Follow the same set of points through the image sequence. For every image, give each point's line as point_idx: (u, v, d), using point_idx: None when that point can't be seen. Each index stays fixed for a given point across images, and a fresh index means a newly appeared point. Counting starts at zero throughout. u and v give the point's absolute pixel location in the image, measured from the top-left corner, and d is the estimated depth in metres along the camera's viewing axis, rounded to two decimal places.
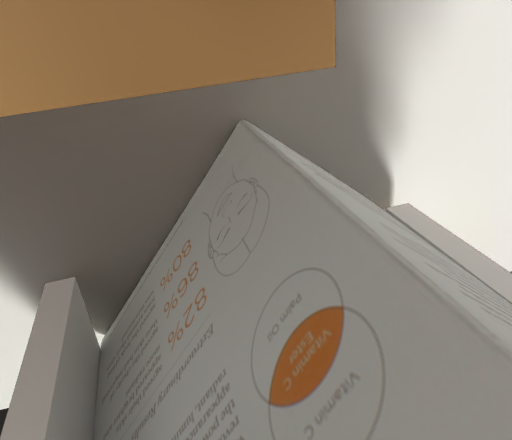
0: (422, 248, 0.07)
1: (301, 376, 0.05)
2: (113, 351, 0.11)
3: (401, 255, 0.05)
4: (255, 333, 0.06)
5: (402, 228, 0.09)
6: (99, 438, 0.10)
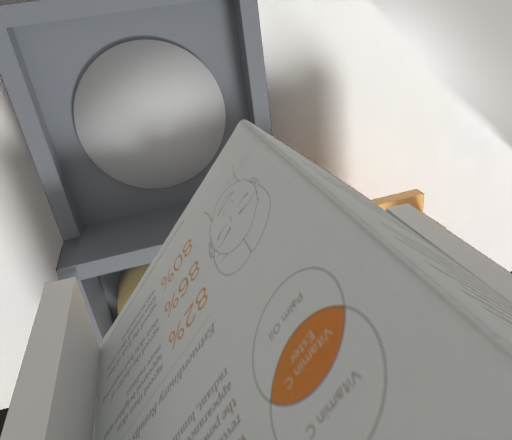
0: (423, 248, 0.07)
1: (303, 376, 0.05)
2: (114, 351, 0.11)
3: (403, 254, 0.05)
4: (257, 332, 0.06)
5: (403, 228, 0.09)
6: (100, 437, 0.10)
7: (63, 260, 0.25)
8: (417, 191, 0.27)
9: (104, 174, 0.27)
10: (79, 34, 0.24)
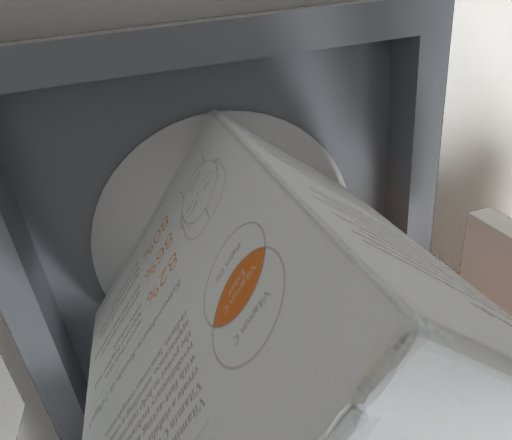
0: (351, 209, 0.09)
1: (235, 302, 0.07)
2: (105, 317, 0.13)
3: (305, 203, 0.06)
4: (208, 278, 0.08)
5: (345, 197, 0.10)
6: (92, 386, 0.11)
7: None
8: None
9: None
10: (108, 102, 0.12)
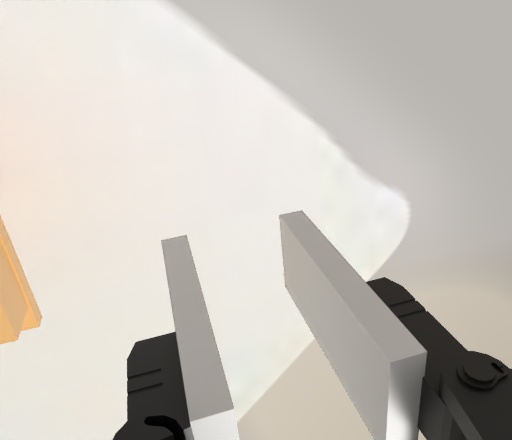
0: None
1: None
2: None
3: None
4: None
5: None
6: None
7: None
8: None
9: None
10: None
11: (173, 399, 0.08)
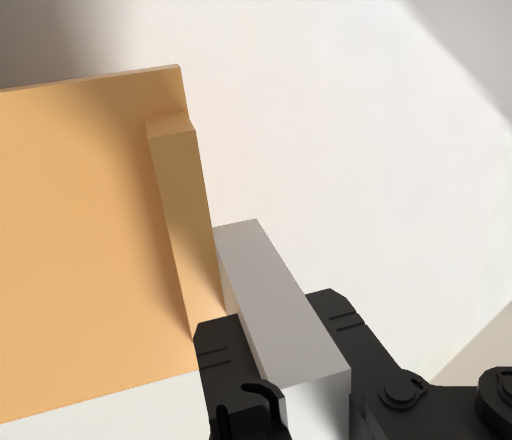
0: None
1: None
2: None
3: None
4: None
5: None
6: None
7: None
8: (173, 65, 0.13)
9: None
10: None
11: (245, 374, 0.09)
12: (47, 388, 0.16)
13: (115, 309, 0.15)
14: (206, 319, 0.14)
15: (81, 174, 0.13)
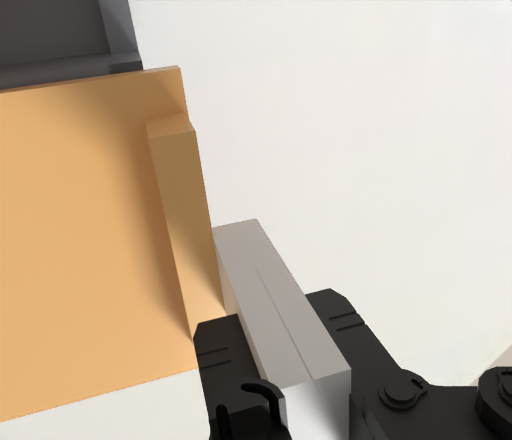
0: None
1: None
2: None
3: None
4: None
5: None
6: None
7: None
8: (173, 67, 0.13)
9: None
10: None
11: (245, 374, 0.09)
12: (47, 386, 0.16)
13: (115, 308, 0.15)
14: (205, 318, 0.14)
15: (82, 174, 0.13)
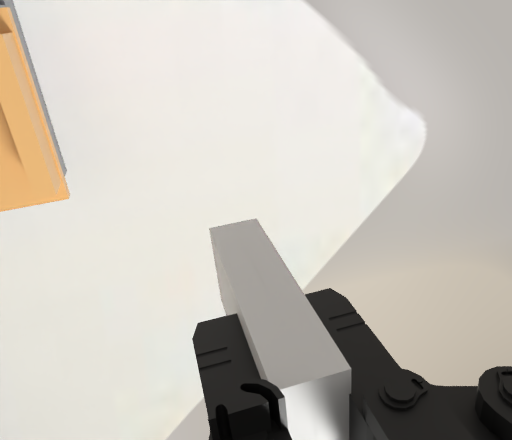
0: None
1: None
2: None
3: None
4: None
5: None
6: None
7: None
8: None
9: None
10: None
11: (244, 374, 0.09)
12: None
13: None
14: (27, 148, 0.25)
15: None
